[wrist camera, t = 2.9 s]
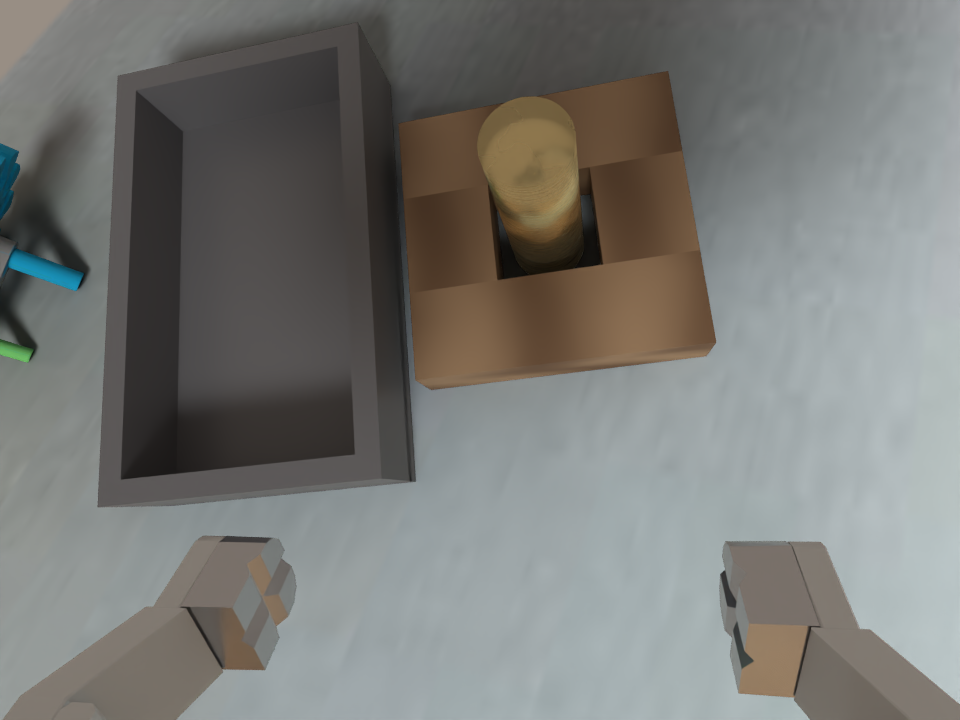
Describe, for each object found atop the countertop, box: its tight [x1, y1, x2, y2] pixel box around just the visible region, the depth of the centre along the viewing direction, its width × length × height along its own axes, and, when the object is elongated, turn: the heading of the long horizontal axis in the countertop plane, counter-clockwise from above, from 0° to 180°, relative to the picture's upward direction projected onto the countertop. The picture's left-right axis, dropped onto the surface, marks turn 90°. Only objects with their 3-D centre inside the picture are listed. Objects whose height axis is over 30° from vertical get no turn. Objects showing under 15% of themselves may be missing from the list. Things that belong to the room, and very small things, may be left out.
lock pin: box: [477, 96, 584, 275], centre depth 25 cm, size 3×3×9 cm
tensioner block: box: [399, 71, 716, 390], centre depth 28 cm, size 12×12×2 cm
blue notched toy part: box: [0, 143, 84, 363], centre depth 32 cm, size 11×6×10 cm
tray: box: [98, 22, 416, 507], centre depth 29 cm, size 12×20×4 cm, turn 5°
